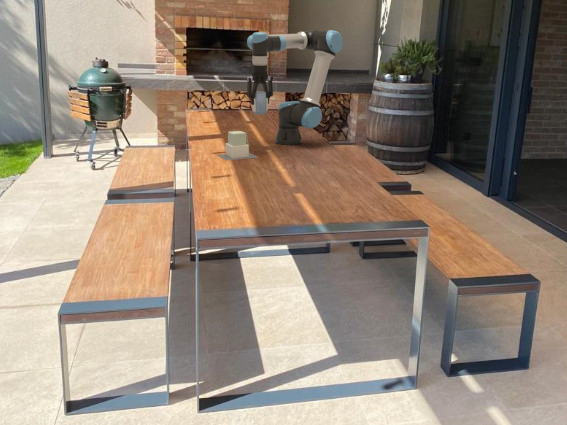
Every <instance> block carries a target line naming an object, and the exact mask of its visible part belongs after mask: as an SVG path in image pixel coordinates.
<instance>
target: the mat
mask: <svg viewBox="0 0 567 425" xmlns="http://www.w3.org/2000/svg"><path fill="white" fill-rule="evenodd" d="M216 156H218V157H219V158H220V159H222V160H223V161H234V160H245V159H246V160H247V159H258V158H260V157H259V156H257V155H255V154H253V153H251V152H249V157H245V158H233V159H232V158H230V157H228V156H227V155H226V153H221V154H220V153H219V154H216Z"/></svg>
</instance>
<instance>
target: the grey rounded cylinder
mask: <svg viewBox="0 0 567 425" xmlns="http://www.w3.org/2000/svg"><path fill="white" fill-rule="evenodd" d="M254 98H255V99H256V112H254V111H253V112H254V113H253V114H254V115H257V116H258V115H259V116H260V115H266V114H267V111H266V92H265V91H264V90H263V91H260V90H256V93H255V97H254Z"/></svg>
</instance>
